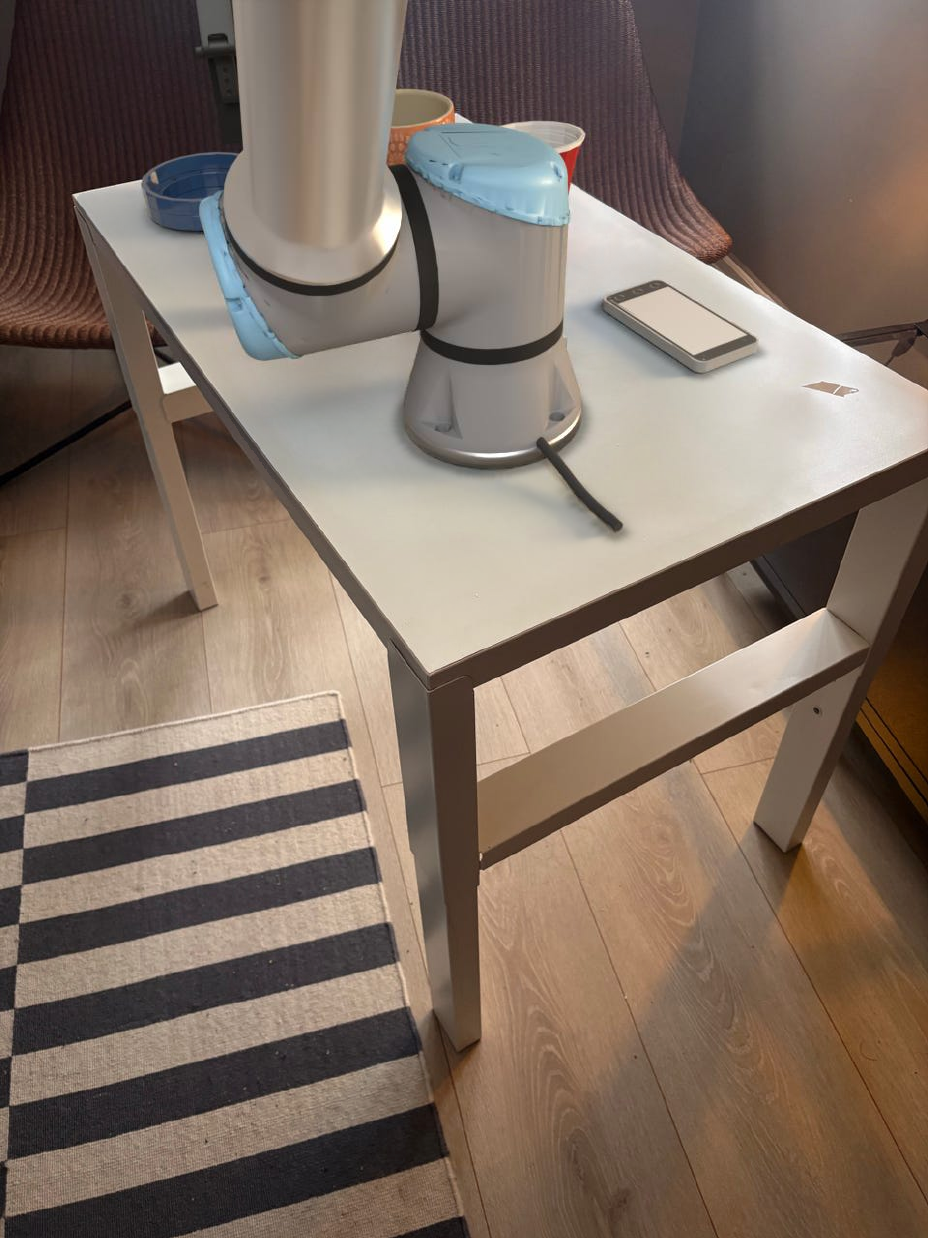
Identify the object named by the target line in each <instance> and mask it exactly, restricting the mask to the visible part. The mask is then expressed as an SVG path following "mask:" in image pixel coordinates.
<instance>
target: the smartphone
mask: <svg viewBox="0 0 928 1238" xmlns="http://www.w3.org/2000/svg"><path fill="white" fill-rule="evenodd" d="M603 311H604V312H606V313H607V314H608V315H610V316H611V317H613V318H614V319H616V320H617V321H619V322H620V323H622V324H623V325H625V326H626V327H628V328H629V329H631V330H632V331H633V332H635V333H637V334H638V335H640V336H641V337H643V338H644V339H646V340H647V341H648V342H650V343H652V344H653V345H654V346H655V347H657V348H658V349H660V350H662V351H663V352H665V353H666V354H667V355H669V356H671V357H672V358H674V359H675V360H677V361H678V362H679V363H680V364H683V365H684V366H686V367H687V368H688V369H690V370H691V371H693V372H695V373H700V374H703V373H708V372H710V371H713V370H715V369H718V368H721V367H723V366H725V365H729V364H731V363H733V362H737V361H738V360H741V359H743V358H746V357H749V356H752V355H754V354H756V353H757V351H758V346H759V338H758V337H757V336H756V335H755V334H752V332H749V331H748V330H747V329H745V328H743V327H742V326H740V325H738V324H736V323H735V322H733V321H732V320H730V319H728V318H727V317H725V316H723V315H722V314H720V313H719V312H717V311H715V310H713V309H712V308H711V307H708V306H707V305H705V304H704V303H702V302H700V301H699V300H697V299H695V298H694V297H692V296H690V295H689V294H687V293H686V292H684V291H682V290H681V289H679V288H678V287H676V286H674V285H672V284H671V283H669V282H667V281H665V280H663V279H658V278H656V279H651V280H648V281H645V282H643V283H640V284H635V285H634V286H631V287H628V288H624V289H622V290H618V291H615V292H612V293H610V294H607V295H604V298H603Z"/></svg>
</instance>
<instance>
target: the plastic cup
mask: <svg viewBox="0 0 928 1238" xmlns="http://www.w3.org/2000/svg"><path fill="white" fill-rule="evenodd" d="M499 126H500V127H505V128H510V129H514V130H517V131H521V132H524V133H527V134H529V135H532V136H534V137H536V138H538V139H540V140H542V141H544V142H546V143H547V144H549V145H550V146H551V147H553V148H554V149H555V150H556V151H557V152H558V153H559V154H560V156H561V157H562V159H563V161H564V163H565V165H566V168H567V173H568V197H569V195H570V190H571V185H572V180H573V175H574V170H575V167H576V164H577V163H576V162H577V157H578V155H579V151H580V147H581V145H582V142H584V140H585V137H586V133H585V131H584V130H583V129H582V127H579V126H576V125H574V124H571V123H566V122H560V121H553V120H552V121H551V120H550V121H549V120H530V121H519V122H512V123H507V124H503V125H499Z"/></svg>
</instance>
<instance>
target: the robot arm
mask: <svg viewBox="0 0 928 1238" xmlns="http://www.w3.org/2000/svg"><path fill="white" fill-rule="evenodd" d="M195 4H196V5H195V6H196V11H197V19H198V25H199V32H200V40H201V44H200V46H195V47H194V48H195V53H196V54H195V55H196V57H197V60H207V65H208V70H209V75H210V80H211V85H212V90H213V97H214V101H215V106H216V107H215V108H216V112H217V117H218V122H219V127H220V132H221V137H222V143H223V144H235V143H236V144H237V143H242V151H241V152H240V153H238V154H239V155H238V156H237V158H236V159H235V161H234V162H233V164H232V165H231V167H230V170H229V172H228V174H227V177H226V181H225V185H224V191H218V192H216V193H215V194H214V195H213V196H209V197H206V198H204V199H203V200H202V201H201V203H200V206H199V215H200V220H201V224H202V228H203V235H204V238H205V241H206V245H207V249H208V252H209V256H210V258H211V261H212V265H213V268H214V271H215V275H216V278H217V282H218V284H219V288H220V290H221V292H222V294H223V299H224V301H225V304H226V306H227V310H228V313H229V317H230V320H231V322H232V325H233V328H234V331H235V334H236V336H237V339H238V341H239V343H240V346H241V348H242V350H243V351H244V352H245V354H247V355H248V356H249V357H250V358H252V359H253V360H257V361H261V362H267V361H274V360H281V359H282V360H283V359H288V358H289V359H292V360H297V359H298V360H299V359H301V358H303V357H304V356H307V355H312V354H316V353H321V352H326V351H329V350H334V349H340V348H344V347H349V346H352V345H358V344H363V343H367V342H371V341H377V340H380V339H384V338H389V337H393V336H398V335H403V334H407V333H414V332H418V331H419V342H418V345H417V349H416V352H415V356H414V360H413V363H412V367H411V370H410V373H409V378H408V380H407V385H406V388H405V391H404V399H403V417H404V425H405V430H406V432H407V434H408V436H409V438H410V439H411V440H412V442H413V443H414V444H415V445H416V446H417V447H418V448H419V449H421V450H422V451H423V452H425V453H426V454H428V455H430V456H432V457H434V458H436V459H438V460H440V461H443V462H446V463H448V464H452V465H455V466H456V465H457V466H461V467H466V468H473V469H486V470H491V469H492V470H493V469H495V470H496V469H507V468H515V467H521V466H525V465H530V464H532V463H536V462H539V461H541V460H544V459H547V460H548V461H549V462H550V463H551V465H552V466H553V467H554V469H555V470H556V471H557V473H558V474H559V475H560V476H561V477H562V479H563V481H565V483H566V484H567V485H568V487H569V488H570V490H571V491H572V492H573V493H574V494H575V495H576V496H577V498H578V499H579V500H580V501H581V502H582V503H583V504H584V505H585V506H586V507H587V508H588V509H589V510H590V511H591V512H593V513H594V514H595V515H596V516H597V517H598V518H599V519H601V520H602V522H604V523H605V524H606V525H607V526H608V527H609V528H611V529H612V530H613V531H614V532H619V531H621V530H622V528H623V527H624V523H623V522H621V520H620V519H619V518H617V517H616V516H615V515H614V514H613V513H611V511H609V510H608V509H607V508H605V506H603V504H601V503H600V502H599V501H598V500H597V499H596V498H594V496H593V495H591V493H590V492H589V491H588V490H587V489H586V488H585V487H584V486H583V485H582V483H581V482H580V481H579V479H578V478H577V477H576V476H575V474H574V473H573V472H572V470H571V469H570V468H569V466H568V465H567V464H566V463H565V461H564V460H563V459H562V458H561V456H560V455H559V454H558V453H557V452H559V451H560V450H562V449H563V448H565V447H566V446H567V445H568V444H570V442H571V441H572V440H573V438H575V436H576V434H577V432H578V430H579V428H580V426H581V425H580V424H581V418H582V404H583V403H582V396H581V389H580V386H579V382H578V380H577V377H576V374H575V369H574V367H573V363H572V361H571V357H570V353H569V351H568V337H564V314H565V299H566V276H567V275H566V274H567V255H568V238H569V237H568V236H569V223H570V221H571V218H572V217H571V211H570V205H569V196H568V173H567V168H566V165H565V163H564V161H563V159H562V157H561V156H560V154H559V153H558V152H557V151H556V150H555V149H554V148H553V147H551V146H550V145H549V144H547V143H546V142H544V141H542V140H540V139H538V138H536V137H534V136H532V135H529V134H527V133H524V132H521V131H517V130H514V129H510V128H505V127H500V126H501V125H495V124H488V123H477V122H476V123H474V122H455V123H447V124H439V125H433V126H429V127H426V128H424V130H423V131H417V132H416V133H414V134H413V135H412V136H411V137H410V139H409V140H408V144H407V148H406V150H405V160H406V162H405V163H402V164H397V165H391V166H387V165H386V160H387V152H388V144H389V137H390V129H391V122H392V114H393V107H394V99H395V92H396V89H397V84H398V75H399V69H400V61H401V53H402V46H403V39H404V31H405V24H406V16H407V9H408V8H407V7H408V0H195ZM216 36H221V37H216Z"/></svg>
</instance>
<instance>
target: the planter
mask: <svg viewBox="0 0 928 1238" xmlns="http://www.w3.org/2000/svg"><path fill="white" fill-rule="evenodd" d="M447 123H456V113H455V107H454V102H453V101H452V100H451V99H450V98H449V97H447V96H446V95H444V94H442V93H440V92H435V91H432V90H431V91H430V90H426V89H416V88H396V92H395V99H394V107H393V114H392V122H391V129H390V137H389V144H388V152H387V160H386V165H387V166H391V165H397V164H402V163H405V162H406V160H405V150H406V148H407V144H408V140H409V139H410V137H411V136H412V135H413V134H414V133H416V132H417V131H423V130H424V128H426V127H429V126H433V125H439V124H447Z"/></svg>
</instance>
